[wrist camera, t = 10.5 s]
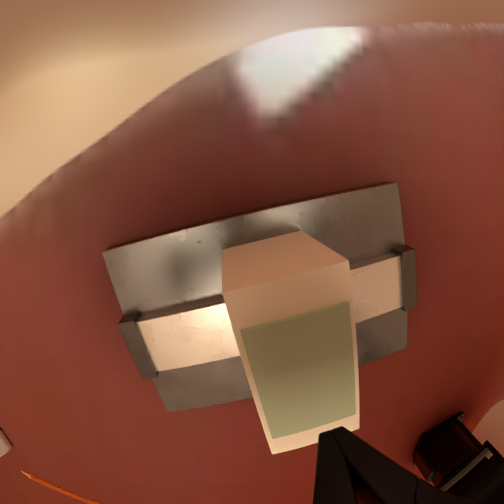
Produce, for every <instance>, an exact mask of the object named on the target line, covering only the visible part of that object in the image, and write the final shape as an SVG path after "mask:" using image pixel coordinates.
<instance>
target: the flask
mask: <svg viewBox="0 0 504 504" xmlns="http://www.w3.org/2000/svg"><path fill="white" fill-rule="evenodd" d="M12 448H13V447H12V445H11V444H10V442H9V441H8V439H7V438H6V436H5V435H4V433H3V432H2V430H1V429H0V457H1V456H3V455H4V454H6V453H7V452H9V451H10V450H11V449H12Z"/></svg>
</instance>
